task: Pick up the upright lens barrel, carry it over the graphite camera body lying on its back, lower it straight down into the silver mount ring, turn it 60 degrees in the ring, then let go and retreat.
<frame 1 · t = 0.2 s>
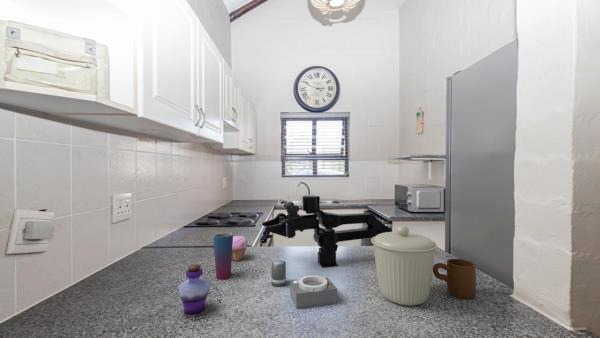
hand: (263, 226, 100), 17 cm above the countertop, tool horizontal, fingers open, 9 cm apart
cup: (223, 277, 95), on the countertop
mug: (453, 294, 81), on the countertop
cupcake: (237, 259, 113), on the countertop
canister: (403, 297, 79), on the countertop
potion bottle: (194, 310, 73), on the countertop
camera body: (313, 298, 78), on the countertop
lens: (278, 283, 89), on the countertop
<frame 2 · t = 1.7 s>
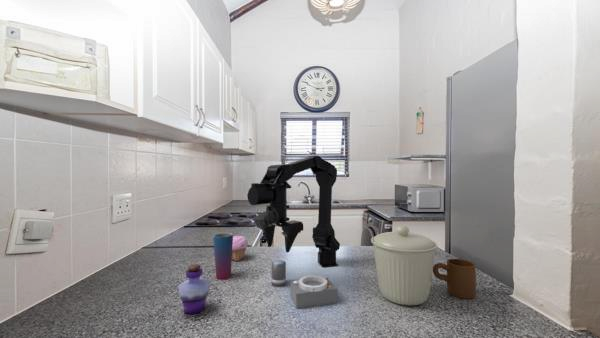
hand: (278, 249, 89), 11 cm above the countertop, tool pointing down, fingers open, 9 cm apart
nothing on the countertop moved.
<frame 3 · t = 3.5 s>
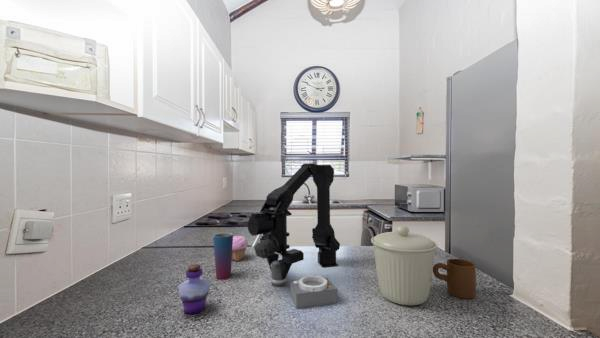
hand: (278, 277, 89), 2 cm above the countertop, tool pointing down, fingers closed on lens, 5 cm apart
lens: (278, 283, 89), on the countertop, touching gripper
everything else where it was.
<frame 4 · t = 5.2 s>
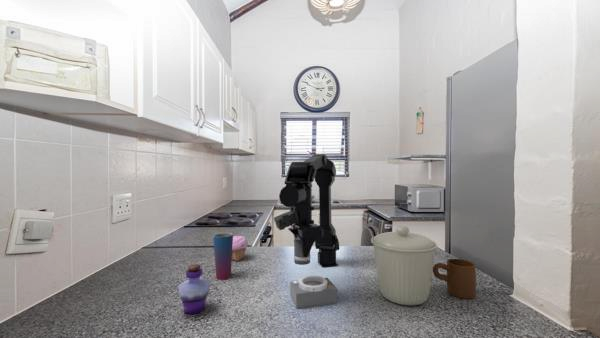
hand: (302, 254, 80), 12 cm above the countertop, tool pointing down, fingers closed on lens, 5 cm apart
lens: (302, 262, 80), point 10 cm above the countertop, touching gripper
everything else where it was.
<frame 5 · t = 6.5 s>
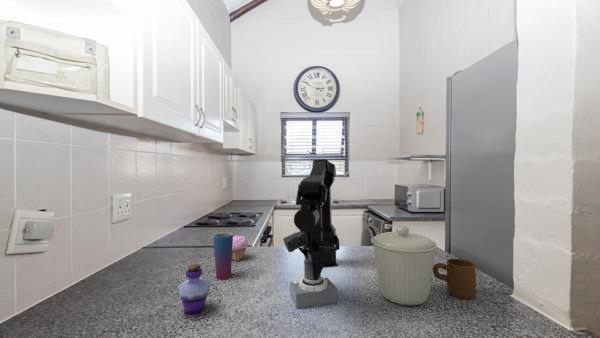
hand: (312, 276, 78), 7 cm above the countertop, tool pointing down, fingers closed on lens, 5 cm apart
lens: (312, 284, 78), point 4 cm above the countertop, touching gripper
everything else where it was.
when the fingers open (6 cm above the countertop, at t = 7.2 s): lens stays where it is, resting on camera body.
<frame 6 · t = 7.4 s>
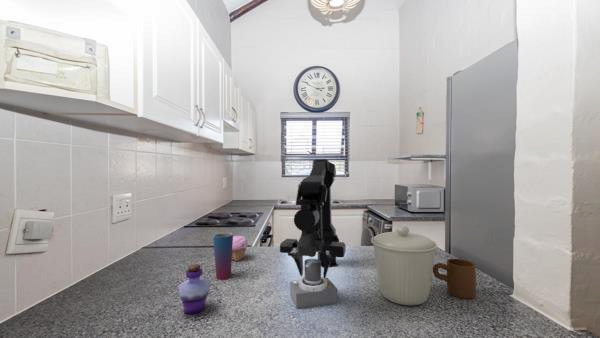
hand: (312, 276, 78), 6 cm above the countertop, tool pointing down, fingers open, 7 cm apart
lens: (312, 285, 78), point 4 cm above the countertop, touching camera body
everything else where it was.
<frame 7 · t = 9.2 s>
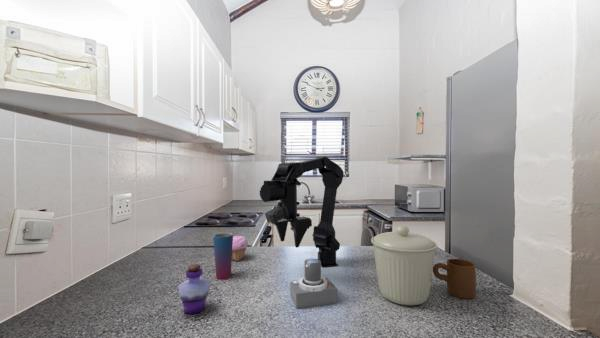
hand: (289, 244, 92), 12 cm above the countertop, tool pointing down, fingers open, 9 cm apart
nothing on the countertop moved.
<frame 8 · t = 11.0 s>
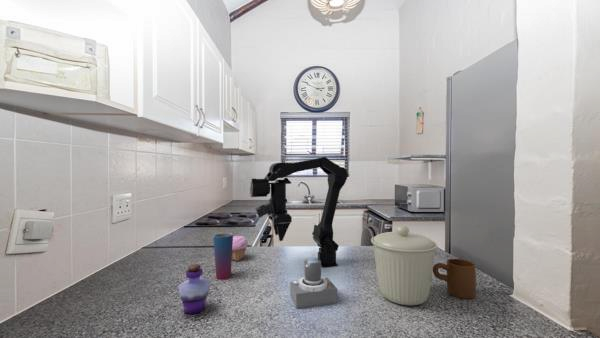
hand: (278, 237, 100), 12 cm above the countertop, tool pointing down, fingers open, 9 cm apart
nothing on the countertop moved.
at the end: lens 0.0 cm off-centre on the camera body, point 4.0 cm above the camera body's base; lens tilted 0°; the gripper is holding nothing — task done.
